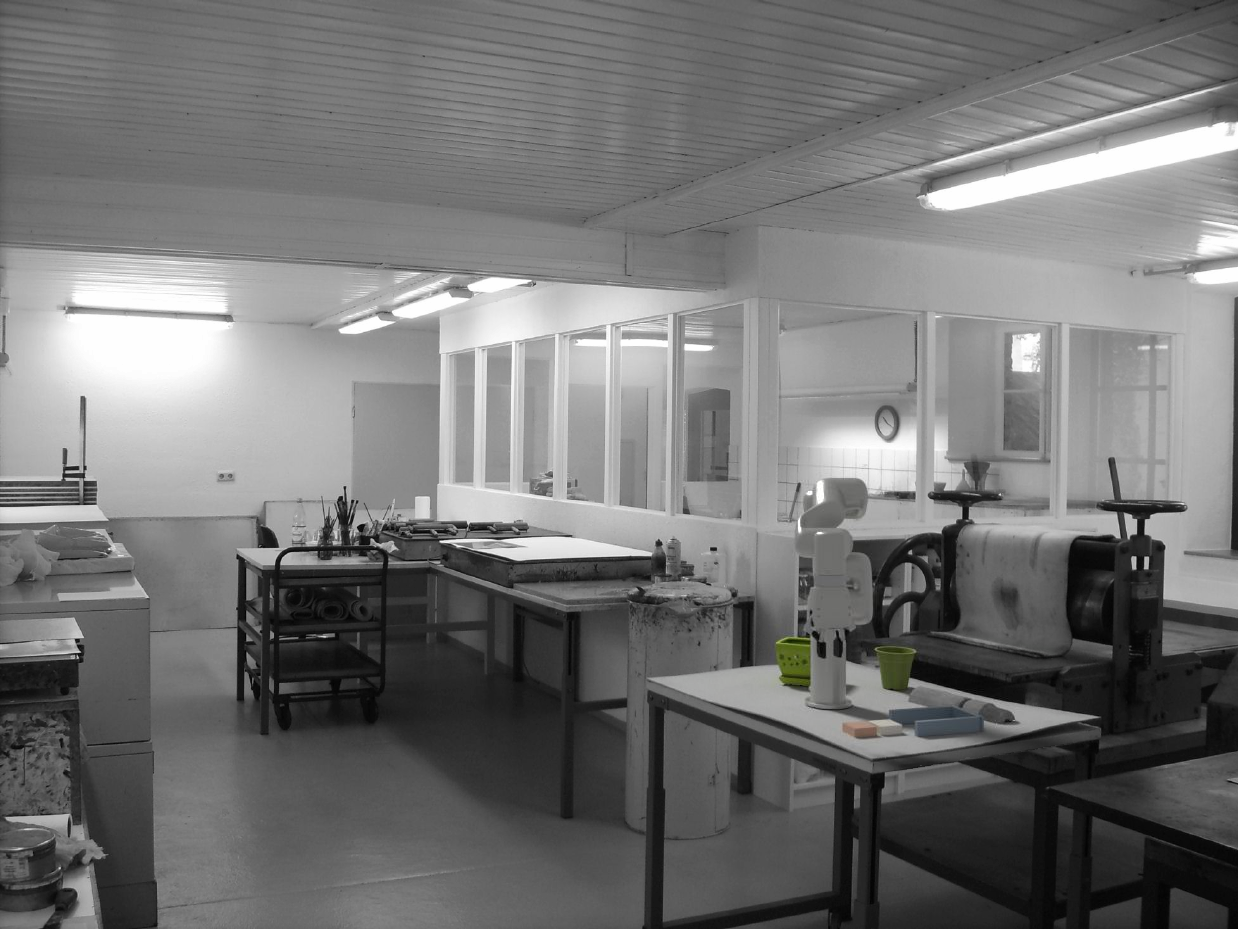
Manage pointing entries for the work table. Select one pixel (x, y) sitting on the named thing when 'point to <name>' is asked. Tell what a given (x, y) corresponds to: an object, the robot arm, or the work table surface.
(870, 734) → the terracotta tile
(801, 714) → the work table surface
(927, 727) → the box
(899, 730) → the cream tile
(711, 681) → the work table surface
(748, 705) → the work table surface
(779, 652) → the flower pot
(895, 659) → the plant pot
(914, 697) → the mechanical component
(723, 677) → the work table surface
